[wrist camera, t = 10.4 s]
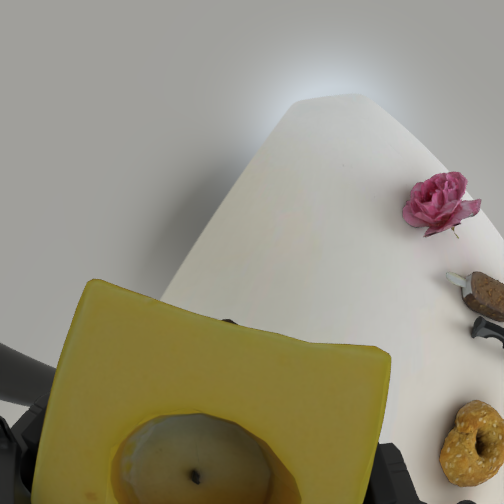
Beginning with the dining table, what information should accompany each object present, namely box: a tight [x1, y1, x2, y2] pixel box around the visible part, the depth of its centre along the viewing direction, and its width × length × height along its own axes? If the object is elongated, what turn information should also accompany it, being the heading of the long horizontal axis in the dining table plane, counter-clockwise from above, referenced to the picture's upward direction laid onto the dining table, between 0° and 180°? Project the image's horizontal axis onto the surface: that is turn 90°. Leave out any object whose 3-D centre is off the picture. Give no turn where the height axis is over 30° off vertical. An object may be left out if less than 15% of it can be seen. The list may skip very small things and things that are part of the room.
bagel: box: [439, 400, 504, 487], centre depth 19 cm, size 10×11×5 cm
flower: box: [403, 172, 481, 238], centre depth 34 cm, size 11×10×10 cm
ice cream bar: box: [446, 272, 504, 322], centre depth 30 cm, size 5×15×3 cm, turn 66°
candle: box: [31, 279, 391, 504], centre depth 10 cm, size 10×10×10 cm
